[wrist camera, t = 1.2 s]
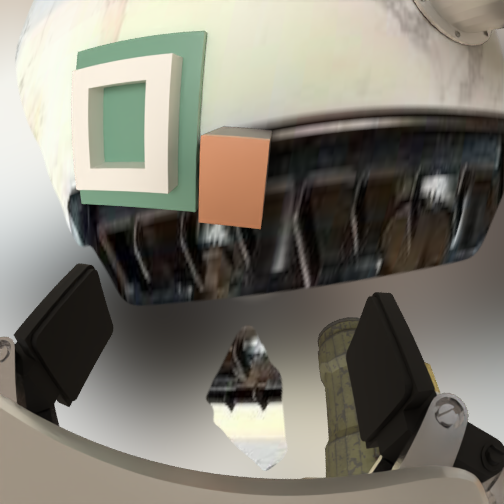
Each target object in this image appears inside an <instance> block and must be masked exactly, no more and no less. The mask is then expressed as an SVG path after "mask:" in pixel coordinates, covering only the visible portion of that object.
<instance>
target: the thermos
mask: <svg viewBox="0 0 504 504" xmlns="http://www.w3.org/2000/svg"><path fill="white" fill-rule="evenodd" d="M359 320H360V318H343V319H339V320H337V321H334V322H332V323H330V324H329V325H327V326H326V327H325V328H324V329H323V330H322V332H321V333H320V334H319V337H318V346H319V352H318V359H319V369H320V377H321V381H322V383H323V384H324V386H325V392H326V403H327V417H328V433H329V441H328V444H327V445H326V448H325V455H326V478H332V477H344V476H354V475H363V474H368V473H369V471H370V470H371V468H372V467H373V466H374V464H375V463H376V461H377V459H378V458H379V456H380V452H379V447H376V448H369V449H366V443H365V441H362V440H361V438H360V432H359V426H358V420H357V414H356V408H355V403H354V397H353V392H352V387H351V382H350V377H349V372H348V367H347V362H346V353H347V350H348V347H349V345H350V343H351V340H352V338H353V335H354V333H355V330H356V328H357V325H358V323H359Z"/></svg>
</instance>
